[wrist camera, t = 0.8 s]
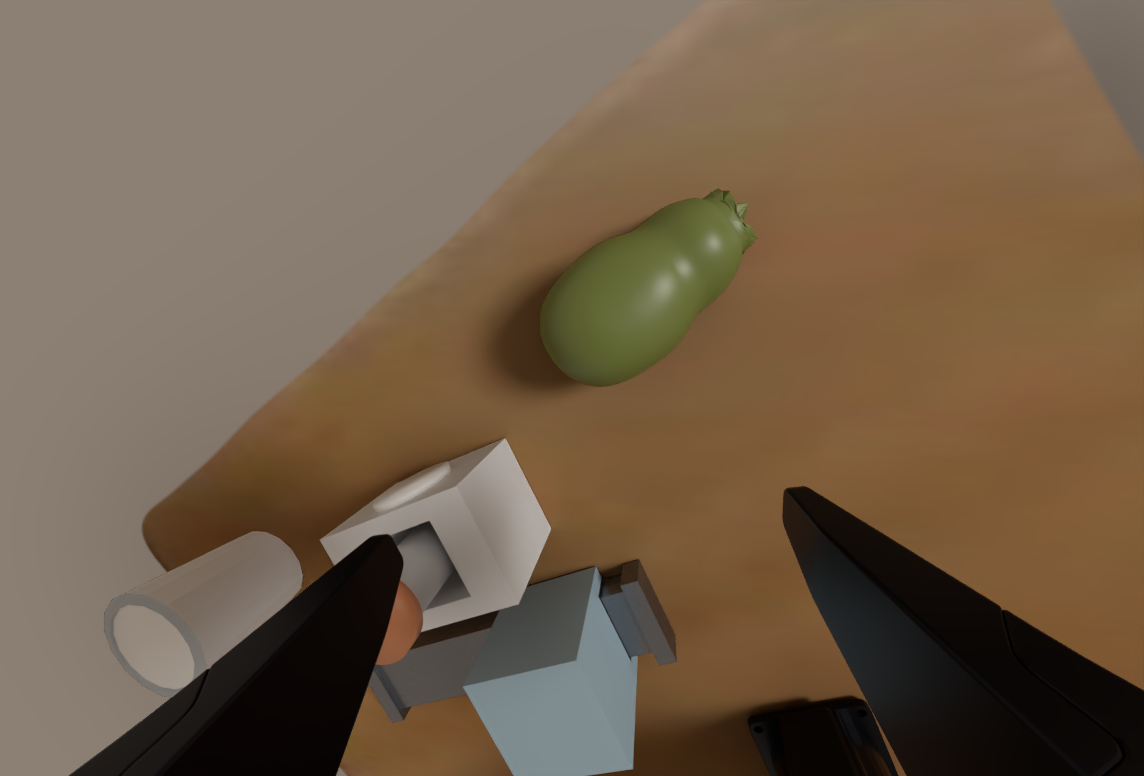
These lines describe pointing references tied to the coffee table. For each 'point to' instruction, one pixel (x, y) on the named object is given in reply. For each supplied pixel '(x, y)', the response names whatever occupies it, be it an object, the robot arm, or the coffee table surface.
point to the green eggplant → (643, 289)
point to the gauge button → (415, 590)
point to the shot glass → (200, 610)
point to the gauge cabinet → (461, 529)
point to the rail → (454, 647)
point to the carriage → (557, 682)
